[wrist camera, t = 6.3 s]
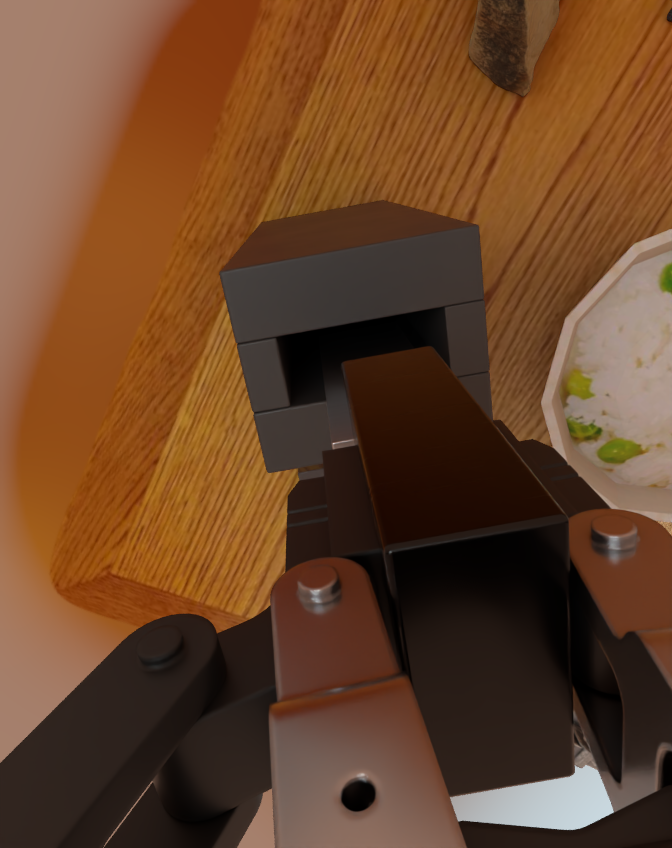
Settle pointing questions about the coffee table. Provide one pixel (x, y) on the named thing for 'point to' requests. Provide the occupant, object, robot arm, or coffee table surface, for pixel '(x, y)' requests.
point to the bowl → (619, 383)
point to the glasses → (669, 16)
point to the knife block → (348, 309)
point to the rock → (511, 39)
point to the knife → (460, 561)
